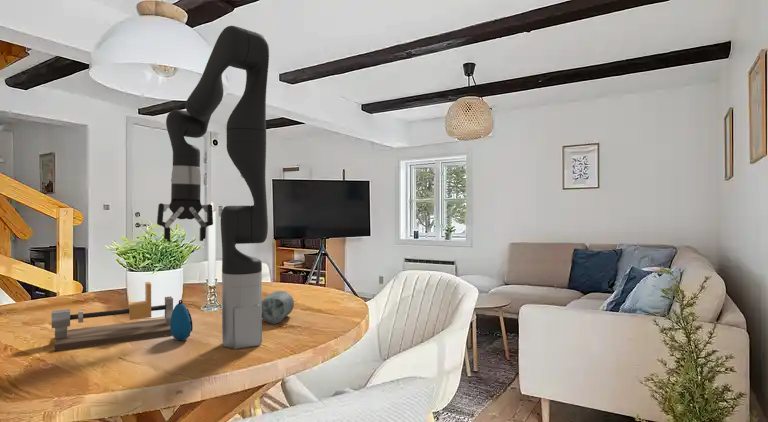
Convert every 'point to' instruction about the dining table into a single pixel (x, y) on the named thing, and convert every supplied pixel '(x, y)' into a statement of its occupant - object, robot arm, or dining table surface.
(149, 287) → the l-shaped tan slider
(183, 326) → the ornament
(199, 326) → the dining table surface
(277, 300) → the grey textured cylinder
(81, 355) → the dining table surface
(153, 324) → the wooden bar clamp
